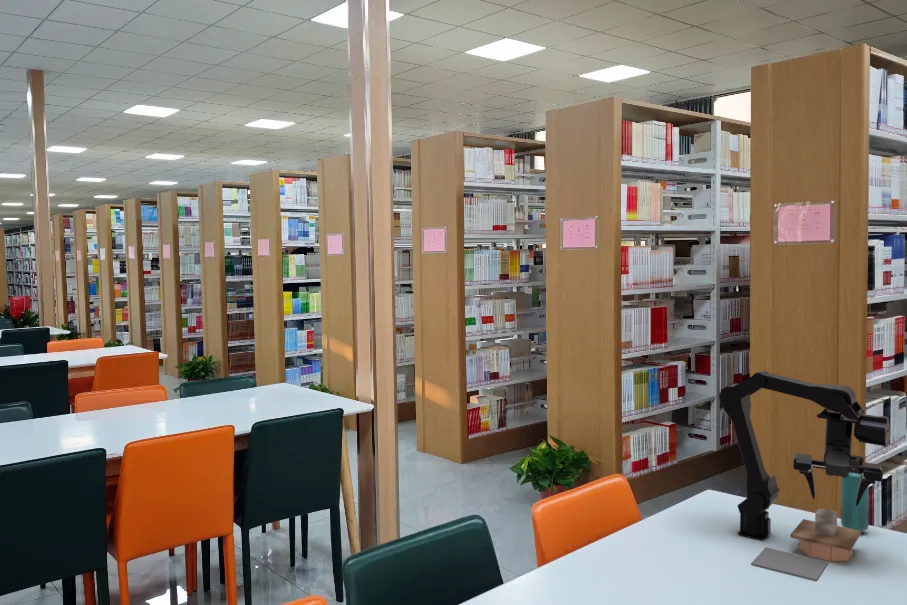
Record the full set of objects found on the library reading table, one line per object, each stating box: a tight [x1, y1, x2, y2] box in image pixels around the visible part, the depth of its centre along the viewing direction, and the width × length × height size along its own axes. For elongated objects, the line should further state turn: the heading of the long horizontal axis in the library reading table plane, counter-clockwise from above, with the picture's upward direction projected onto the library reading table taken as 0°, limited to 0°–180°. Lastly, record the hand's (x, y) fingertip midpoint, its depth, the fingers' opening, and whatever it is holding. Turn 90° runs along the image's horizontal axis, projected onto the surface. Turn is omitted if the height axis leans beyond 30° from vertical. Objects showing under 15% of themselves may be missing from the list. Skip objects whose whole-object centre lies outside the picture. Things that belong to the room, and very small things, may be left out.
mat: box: [750, 547, 829, 582], centre depth 166 cm, size 14×12×1 cm
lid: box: [789, 508, 862, 551], centre depth 172 cm, size 13×13×6 cm
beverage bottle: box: [840, 454, 870, 531], centre depth 185 cm, size 6×7×20 cm
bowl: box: [799, 540, 853, 562], centre depth 173 cm, size 11×11×4 cm
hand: (834, 501), depth 171 cm, fingers open, 9 cm apart
